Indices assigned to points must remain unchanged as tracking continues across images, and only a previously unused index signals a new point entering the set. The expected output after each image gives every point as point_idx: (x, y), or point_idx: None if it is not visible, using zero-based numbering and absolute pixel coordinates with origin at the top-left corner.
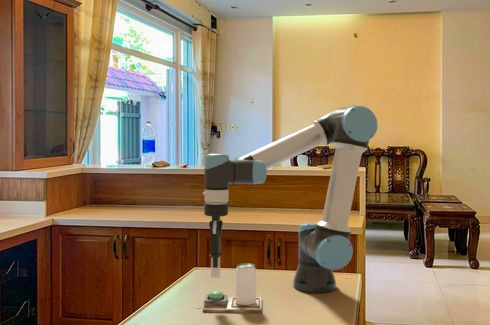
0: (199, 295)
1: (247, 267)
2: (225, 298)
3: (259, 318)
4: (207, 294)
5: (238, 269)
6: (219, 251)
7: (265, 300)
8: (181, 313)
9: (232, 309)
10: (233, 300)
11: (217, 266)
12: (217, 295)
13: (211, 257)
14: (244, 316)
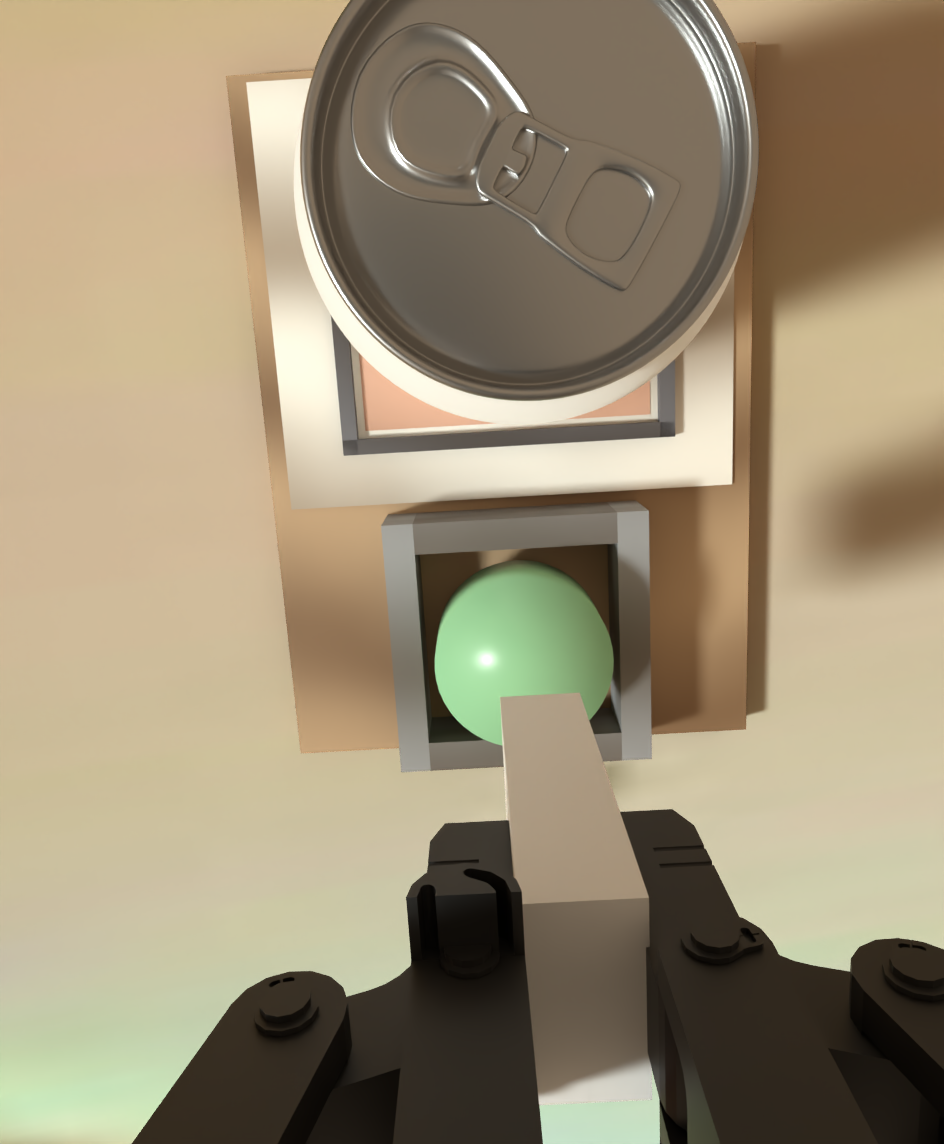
0: (197, 837)
1: (627, 123)
2: (556, 528)
3: (928, 72)
4: (420, 758)
5: (661, 354)
6: (525, 1017)
7: (254, 30)
8: (779, 901)
9: (734, 414)
10: (453, 435)
11: (675, 822)
12: (606, 632)
13: (645, 1084)
14: (861, 260)
